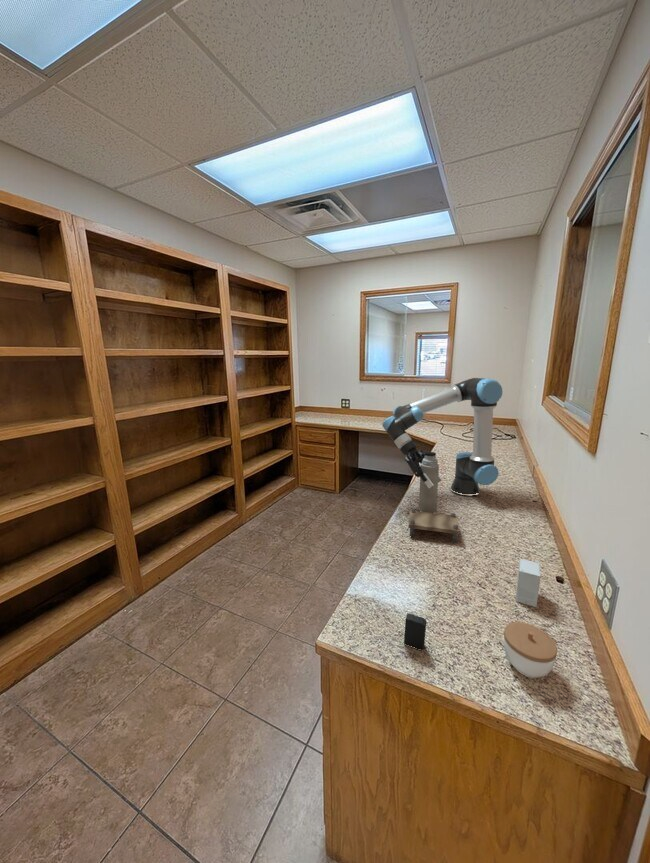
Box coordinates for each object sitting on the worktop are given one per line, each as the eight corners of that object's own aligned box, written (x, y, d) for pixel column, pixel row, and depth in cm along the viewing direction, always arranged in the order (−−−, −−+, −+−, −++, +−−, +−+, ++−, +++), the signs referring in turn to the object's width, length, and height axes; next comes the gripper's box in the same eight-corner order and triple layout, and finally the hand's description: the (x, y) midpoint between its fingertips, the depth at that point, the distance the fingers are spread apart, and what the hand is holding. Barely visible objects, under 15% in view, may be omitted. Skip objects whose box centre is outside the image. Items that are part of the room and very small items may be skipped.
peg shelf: (455, 528, 145) (456, 513, 144) (458, 544, 132) (460, 528, 131) (409, 522, 151) (410, 507, 149) (408, 537, 138) (408, 521, 136)
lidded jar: (504, 678, 76) (508, 644, 74) (498, 642, 85) (501, 611, 84) (559, 694, 72) (565, 658, 70) (546, 655, 82) (551, 622, 80)
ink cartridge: (424, 644, 85) (426, 618, 83) (423, 651, 83) (425, 624, 81) (405, 638, 87) (407, 612, 85) (403, 644, 85) (405, 618, 83)
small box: (536, 608, 97) (540, 576, 95) (515, 601, 100) (518, 570, 98) (536, 592, 104) (540, 563, 102) (516, 586, 107) (519, 557, 105)
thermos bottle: (423, 504, 160) (426, 449, 154) (439, 509, 155) (442, 452, 149) (415, 510, 154) (418, 452, 149) (431, 515, 149) (434, 456, 143)
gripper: (411, 445, 167) (440, 482, 159) (388, 453, 152) (419, 494, 145) (421, 436, 162) (451, 474, 154) (399, 444, 148) (430, 486, 140)
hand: (435, 484), depth 149 cm, fingers closed on thermos bottle, 8 cm apart
